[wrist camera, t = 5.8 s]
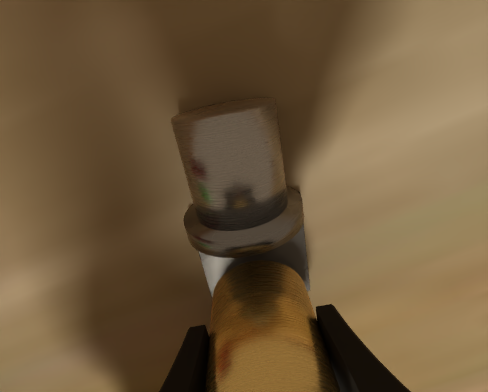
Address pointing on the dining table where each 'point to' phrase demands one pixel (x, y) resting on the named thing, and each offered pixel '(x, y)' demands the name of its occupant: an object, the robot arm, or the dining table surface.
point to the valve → (265, 334)
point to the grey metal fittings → (239, 188)
